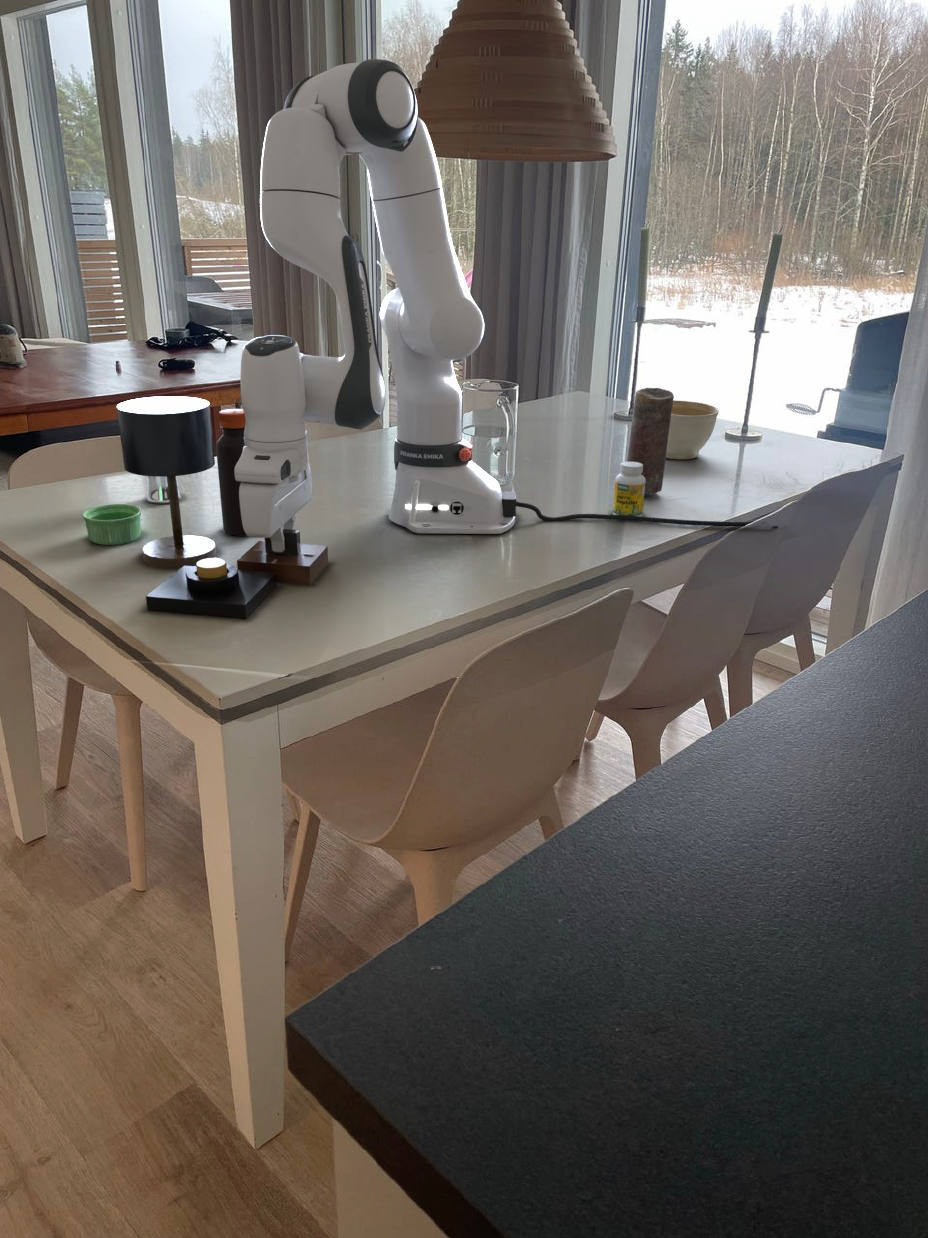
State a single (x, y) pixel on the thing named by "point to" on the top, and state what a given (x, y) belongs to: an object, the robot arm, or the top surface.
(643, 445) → the candle
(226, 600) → the switch block
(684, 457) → the planter bowl
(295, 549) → the dimmer knob
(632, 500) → the supplement bottle
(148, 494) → the beer glass
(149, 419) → the table lamp
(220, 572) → the lamp button
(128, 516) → the ramekin
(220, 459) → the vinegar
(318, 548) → the block
